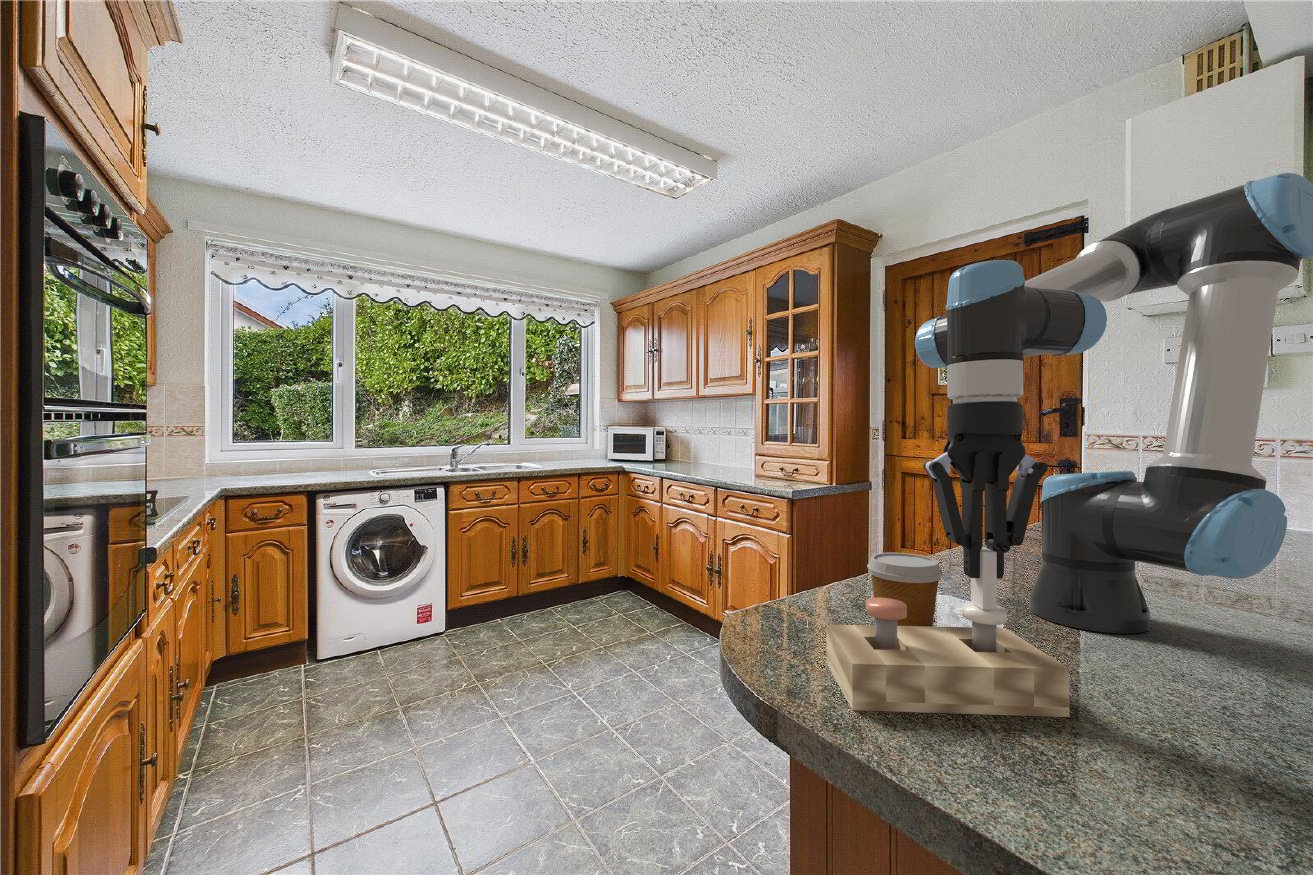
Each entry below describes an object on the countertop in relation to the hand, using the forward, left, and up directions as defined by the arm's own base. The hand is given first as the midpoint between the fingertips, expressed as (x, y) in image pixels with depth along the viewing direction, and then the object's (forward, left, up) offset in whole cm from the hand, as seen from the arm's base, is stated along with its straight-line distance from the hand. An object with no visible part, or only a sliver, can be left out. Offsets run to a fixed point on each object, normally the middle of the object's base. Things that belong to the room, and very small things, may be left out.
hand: (983, 605), depth 63 cm
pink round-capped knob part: (+11, 0, -5) cm, 12 cm away
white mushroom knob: (0, 0, -5) cm, 5 cm away
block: (+5, 0, -10) cm, 11 cm away
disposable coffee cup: (+4, -13, -10) cm, 17 cm away
